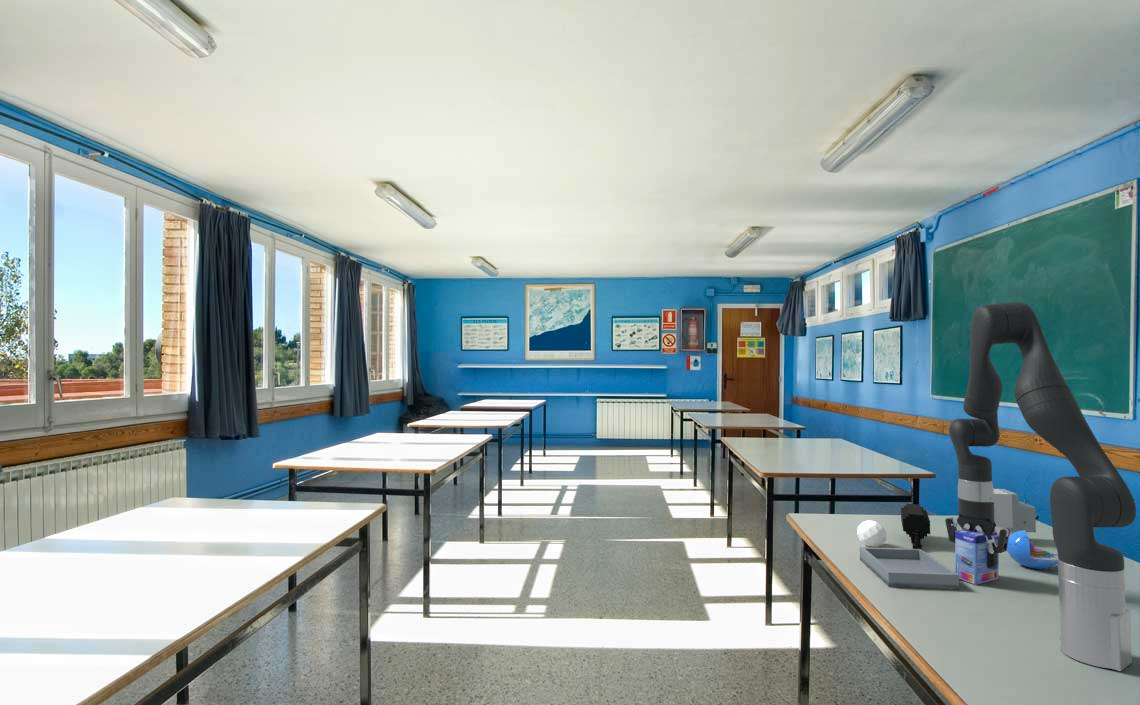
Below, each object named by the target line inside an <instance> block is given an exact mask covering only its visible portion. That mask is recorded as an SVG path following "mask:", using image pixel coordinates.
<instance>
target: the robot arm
mask: <svg viewBox="0 0 1140 705" xmlns="http://www.w3.org/2000/svg"><path fill="white" fill-rule="evenodd" d="M970 324H971V326H970V344H969V374H968V375H969V376H968V382H967V387H966V392H965V396H964V400H963V405H962V407H963V411H964V413H965V414H966V415H967V416H969V417H971V418H955V419H953V420H952V421H951V423H950V425H949V427H948V435H949V437H950V440H951V443H952V445H953V448H954V452H955V455H956V459H957V466H958V484H957V507H958V509H957V510H958V512H957V513H958V517H957V518H956V517H955V518H954V517H953V516H951V517H946V518H945V521H944V522H945V526H946V529H947V530H946V531H947V536H948V537H947V538H948V540H949V542H951V543H954V544H955V531H958V528H957V526H958V525H959V527H960V528H961V530H962V529H963V530H967V531H969V530H971V531H974V529H975V528H976V531H975V532H978V533H980V534H983V535H984V538H985V544H986V547H987V549H988V551H989V553H988V568H991V569H993V568H995V566H997V564H998V558H997V554H998V553H999V554H1002V553H1004V552H1007V546H1008V540H1009V534H1010V530H1009V529H1008V528H1001V527H998V526H997V525H996V524H995V521H994V489H995V488H994V485H993V467H992V466H993V465H992V460H991V459H990V458H989V457H986V456H983V455H978V454H973V453H972V452H971V450H970V447H976V448H977V447H982V448H983V447H993V446H995V445H996V444H997V443H998V441H999V440H1000V435H1001V433H1000V427H999V420H998V411H999V405H1000V403H1001V398H1002V394H1003V382H1002V379H1001V377H1000V375H999V373H998V372H997V370H996V368H995V366H994V364H993V363H992V360H991V357H990V356H991V350H992V347H993V345H1001V344H1002V345H1003V344H1016V345H1017V347H1018V348H1019V350H1020V352H1021V353H1020V354H1021V355H1022V362H1023V363H1022V365H1021V366H1022V367H1021V370H1020V372H1019V375H1018V377H1017V379H1016V382H1015V387H1014V391H1013V394H1014V399H1015V401H1016V404H1017V406H1018V408H1019V410H1020V413H1021V415H1022V417H1023V419H1024V421H1025V423H1026V424H1027V425H1028V427H1029V428H1030V429H1031V430H1032V431H1033V432H1034V433H1035V434H1036V435H1038V436H1039V437H1041V438H1042V439H1043V440H1044V441H1046V443H1048V444H1049V445H1051V446H1052V447H1053V448H1055V449H1056V450H1057V451H1059V452H1060V454H1062V455H1063V456H1064V457H1065V458H1066V459H1067V460H1068V461H1069V462H1070V463H1071V466H1073V469H1074V470H1075V471H1076V473H1077V474H1078V476H1062V477H1058V478H1056V479H1055V480H1054V482H1053V483H1052V485H1051V488H1050V492H1049V506H1050V516H1051V517H1050V518H1051V525H1052V537H1053V542H1054V544H1055V547H1056V550H1057V554H1058V564H1057V570H1058V571H1057V574H1058V602H1059V603H1058V604H1059V605H1058V607H1059V633H1060V634H1059V635H1060V636H1059V640H1060V651H1061V652H1062V653H1063V654H1065V655H1066V656H1068V657H1069V658H1072V659H1073V660H1075V661H1078V662H1081V663H1084V664H1087V665H1089V666H1093V667H1098V668H1105V669H1112V670H1115V671H1118V672H1122V671H1124V670H1125V669H1126V668H1127V667H1128V666H1130V665H1131V664H1132V663H1133V660H1132V658H1133V657H1132V655H1133V654H1132V631H1131V630H1132V629H1131V610H1130V609H1128V608H1126V606H1127V605H1126V604H1127V603H1126V583H1125V582H1126V581H1125V580H1126V579H1125V558H1124V555H1123V552H1121V551H1119V550H1118V549H1116V548H1114V547H1112V546H1108V545H1105V544H1103V543H1099V542H1098V541H1097V540H1096V536H1095V531H1094V528H1125V527H1128V526H1130V525H1132V524H1133V523H1134V521H1135V520H1136V518H1137V506H1136V502H1135V499H1134V497H1133V494H1132V492H1131V489H1130V488H1129V487H1128V485H1127V483H1126V482H1125V480H1124V479H1123V477H1122V475H1121V474H1120V473H1119V471H1118V470H1117V468H1116V467H1115V465H1114V464H1113V463H1112V461H1111V460H1110V458H1109V456H1108V455H1107V454H1106V452H1105V451H1104V448H1103V447H1102V446H1101V444H1100V442H1099V441H1098V440H1097V437H1096V436H1095V434H1094V432H1093V431H1092V429H1091V427H1090V425H1089V423H1088V422H1087V420H1086V418H1085V416H1084V414H1083V412H1082V410H1081V408H1080V405H1079V404H1078V402H1077V399H1076V398H1075V396H1074V394H1073V392H1072V390H1071V388H1070V386H1069V385H1068V384H1067V382H1066V380H1065V377H1064V376H1063V375H1062V372H1061V371H1060V369H1059V366H1058V365H1057V362H1056V361H1055V359H1054V357H1053V354H1052V352H1051V350H1050V347H1049V346H1048V342H1047V339H1046V337H1045V334H1044V332H1043V329H1042V327H1041V325H1040V322H1039V320H1038V317H1037V315H1036V313H1035V311H1034V310H1033V308H1032V307H1031V306H1030V305H1029V304H1027V303H1025V302H1006V303H1005V302H1004V303H991V304H983V305H981V306H979V307H977V308H976V310H975V311H974V313H973V316H972V320H971V323H970ZM978 524H981V525H980V526H977V525H978ZM994 531H996V532H997V535H998V536H999V539H998V545H997V546H996V544H995V539H994V537H993V536H992V535H991V534H992V533H993V532H994ZM990 535H991V536H992V538H991V539H990V540H988V538H987V537H988V536H990Z"/></svg>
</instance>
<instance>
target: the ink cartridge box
mask: <svg viewBox="0 0 1140 705" xmlns="http://www.w3.org/2000/svg"><path fill="white" fill-rule="evenodd" d="M980 525H981V524H978V525H977V526H980ZM975 531H976V528H975V529H974V531H971V530H969V531H967V530H963V529H962V528H961V529H957V531H955V543H954V546H955V549H954V550H955V556H954V557H955V562H954V563H955V573H957V574H958V575H959V581H960V580H961V581H964V582H966V583H969V584H972V585H974V586H975V585H976V586H977V585H980V584H985V583H989V582H993V581H997V580H999V566H1000V564H999V562H1000V561H999V556H1000V553H998V554H997V558H998V564H997V566H995V568H993V569H991V568H988V553H989V551H988V549H987V547H986V544H985V538H984V535H983V534H980V533H978V532H975ZM991 535H992V536H993V537H994V539H995V544H996V546H997V545H998V539H999V536H998V535H997V532H996V531H994V532H993V533H992V534H991ZM991 535H990V536H988V537H987V538H988V540H990V539H991V538H992V536H991Z"/></svg>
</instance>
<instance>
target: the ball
mask: <svg viewBox="0 0 1140 705" xmlns="http://www.w3.org/2000/svg"><path fill="white" fill-rule="evenodd" d="M856 531H857V532H856V535H857V537H858V539H859V541H860V542H861V543H862V544H864V545H866V546H867V547H869V548H879V547H881V546H882V545H883V544H884V543H885V542H886V540H887V532H886V530H885V528H884V526H883V524H880V523H879V522H877V521H875V520H871V519H868V520H864V521H862V522H861V523H860V524H859V525H858V526H857V530H856Z"/></svg>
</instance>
